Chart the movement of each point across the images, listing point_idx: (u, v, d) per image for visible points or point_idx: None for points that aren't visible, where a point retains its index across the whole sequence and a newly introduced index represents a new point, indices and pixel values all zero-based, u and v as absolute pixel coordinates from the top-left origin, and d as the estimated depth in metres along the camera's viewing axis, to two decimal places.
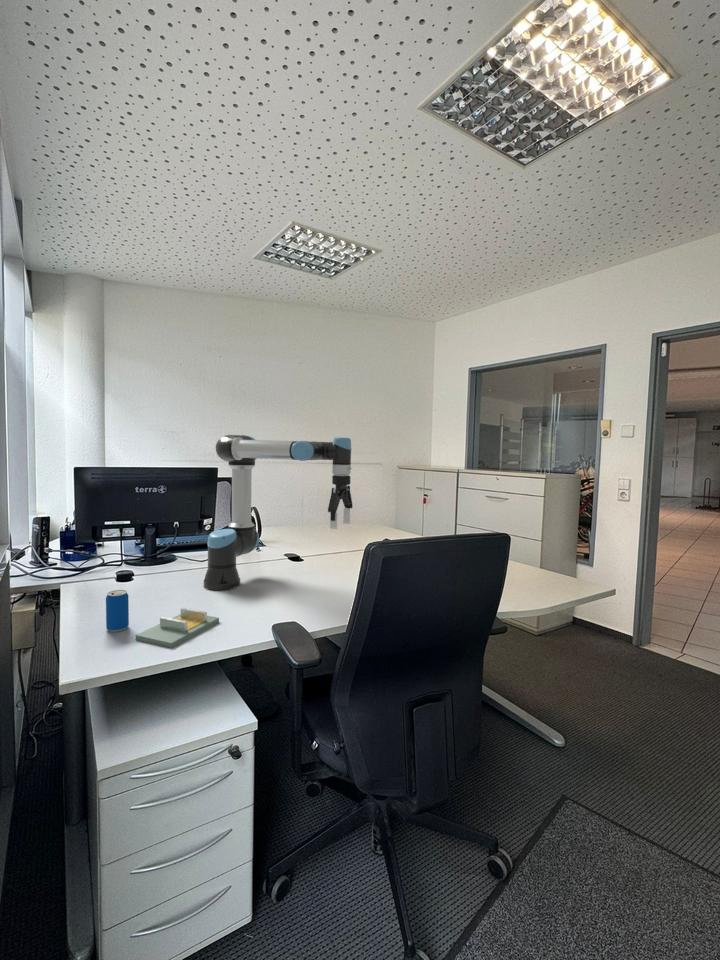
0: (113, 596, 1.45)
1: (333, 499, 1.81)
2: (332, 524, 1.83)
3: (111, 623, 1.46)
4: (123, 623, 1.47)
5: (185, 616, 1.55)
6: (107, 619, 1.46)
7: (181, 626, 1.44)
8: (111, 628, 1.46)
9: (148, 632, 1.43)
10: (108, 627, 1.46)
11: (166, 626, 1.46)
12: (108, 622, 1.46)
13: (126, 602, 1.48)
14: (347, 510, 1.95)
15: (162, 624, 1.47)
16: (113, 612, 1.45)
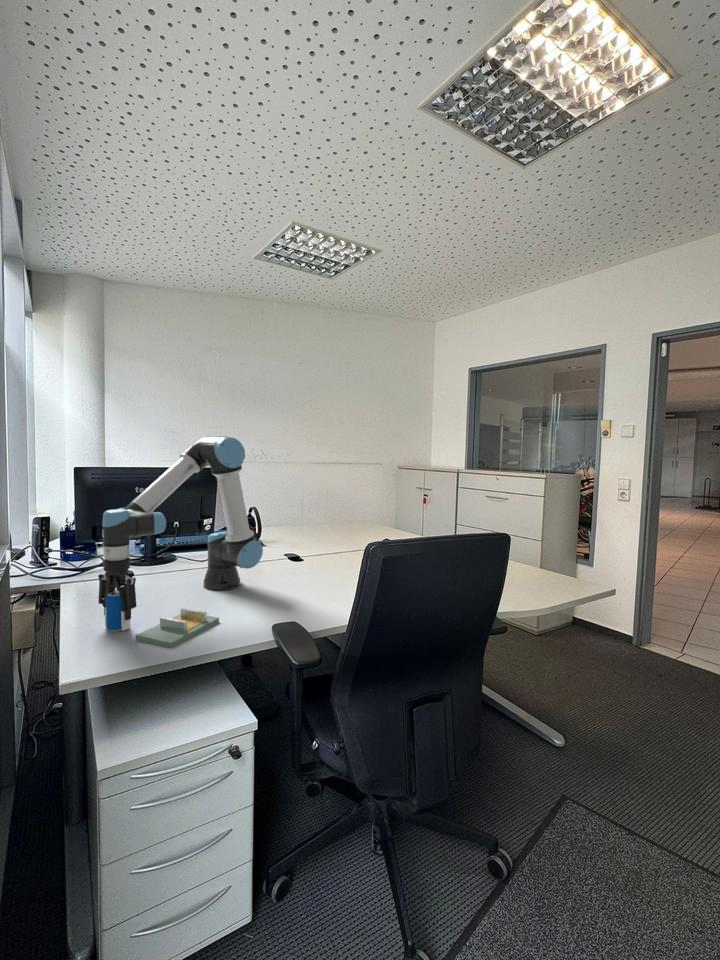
0: (113, 596, 1.45)
1: None
2: None
3: (111, 623, 1.46)
4: None
5: (185, 616, 1.55)
6: (107, 619, 1.46)
7: (181, 626, 1.44)
8: (111, 628, 1.46)
9: (148, 632, 1.43)
10: (108, 627, 1.46)
11: (166, 626, 1.46)
12: (108, 622, 1.46)
13: None
14: None
15: (162, 624, 1.47)
16: (113, 612, 1.45)
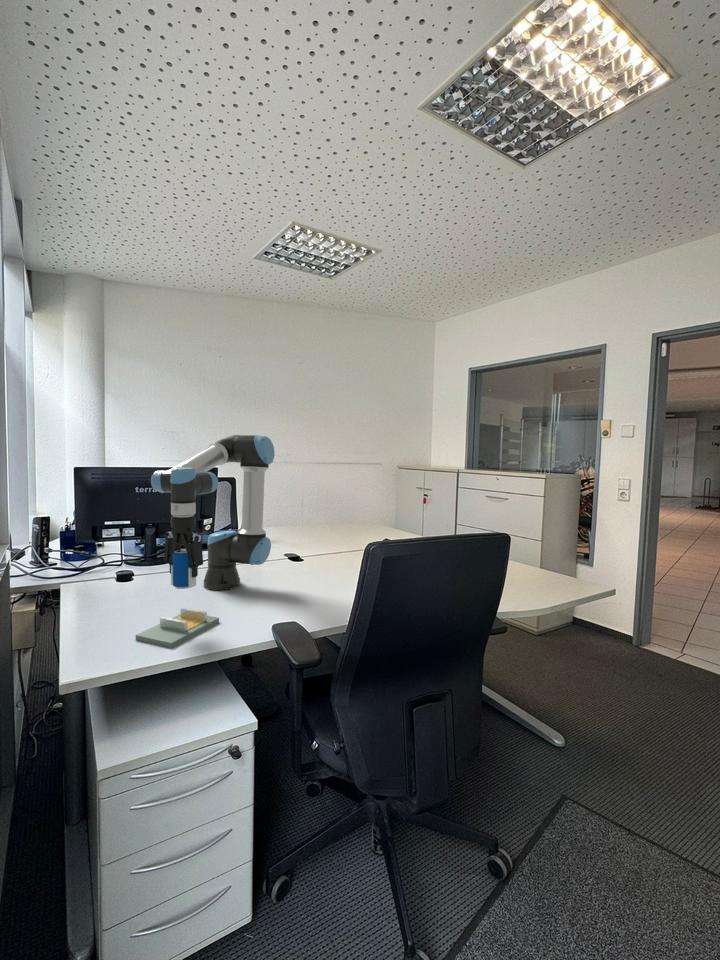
0: (180, 553, 1.46)
1: None
2: None
3: (178, 580, 1.46)
4: None
5: (185, 616, 1.55)
6: (174, 576, 1.47)
7: (181, 626, 1.44)
8: (178, 585, 1.46)
9: (148, 632, 1.43)
10: (175, 584, 1.47)
11: (166, 626, 1.46)
12: (175, 579, 1.46)
13: None
14: None
15: (162, 624, 1.47)
16: (180, 569, 1.46)
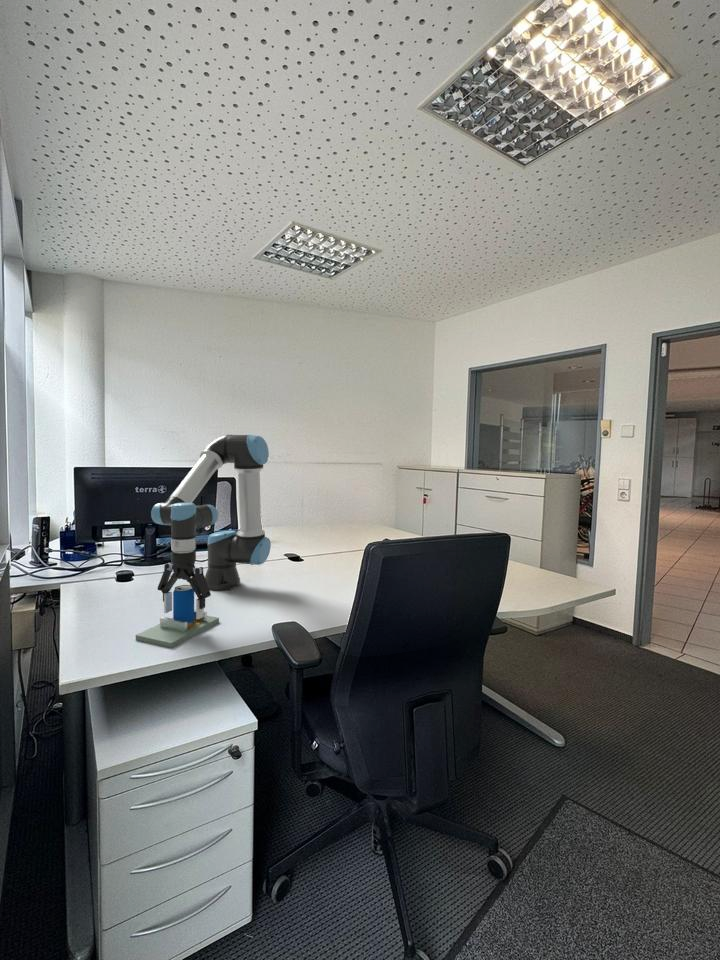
0: (181, 591, 1.47)
1: None
2: None
3: (179, 617, 1.47)
4: (190, 618, 1.49)
5: None
6: (175, 613, 1.48)
7: (181, 626, 1.44)
8: None
9: (148, 632, 1.43)
10: None
11: (166, 626, 1.46)
12: (176, 616, 1.47)
13: (193, 597, 1.49)
14: None
15: (162, 624, 1.47)
16: (181, 606, 1.47)
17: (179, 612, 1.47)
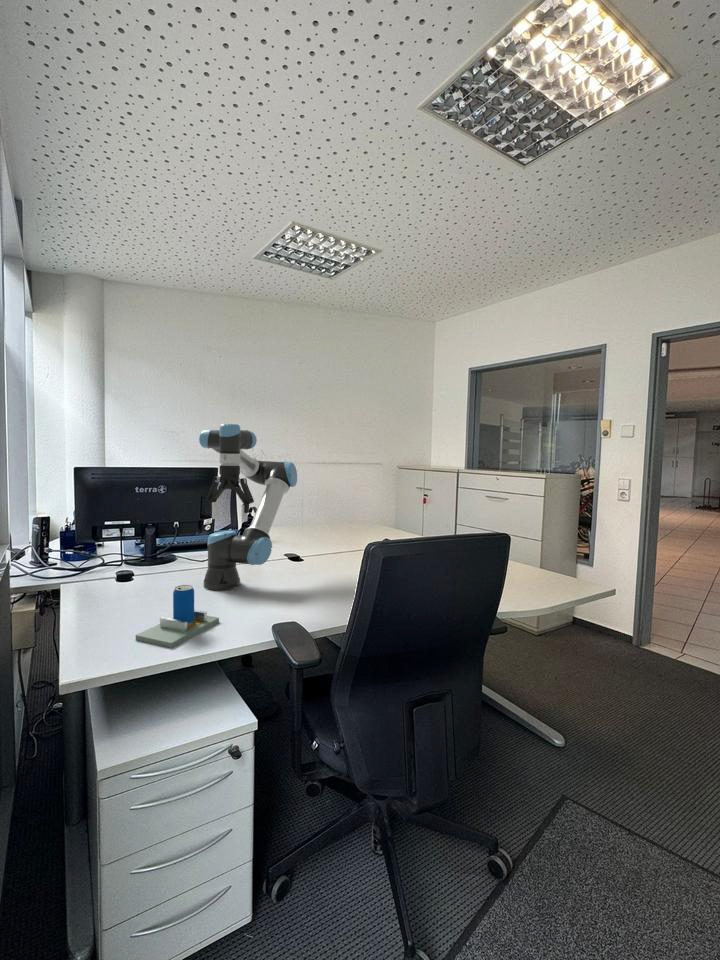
0: (181, 591, 1.47)
1: None
2: None
3: (179, 617, 1.47)
4: (190, 618, 1.49)
5: None
6: (175, 613, 1.48)
7: (181, 626, 1.44)
8: None
9: (148, 632, 1.43)
10: None
11: (166, 626, 1.46)
12: (176, 616, 1.47)
13: (193, 597, 1.49)
14: None
15: (162, 624, 1.47)
16: (181, 606, 1.47)
17: (179, 612, 1.47)
